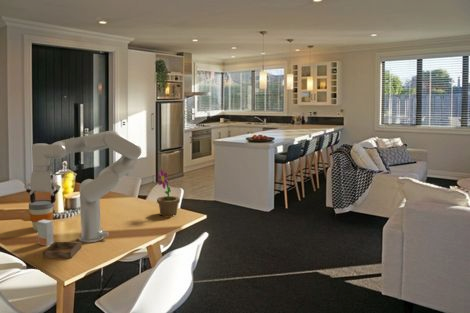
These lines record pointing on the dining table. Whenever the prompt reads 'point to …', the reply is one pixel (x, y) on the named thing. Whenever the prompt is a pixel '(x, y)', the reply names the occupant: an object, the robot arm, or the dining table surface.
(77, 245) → the socket
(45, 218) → the reusable coffee cup
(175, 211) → the flowerpot
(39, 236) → the skincare box
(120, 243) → the dining table surface
